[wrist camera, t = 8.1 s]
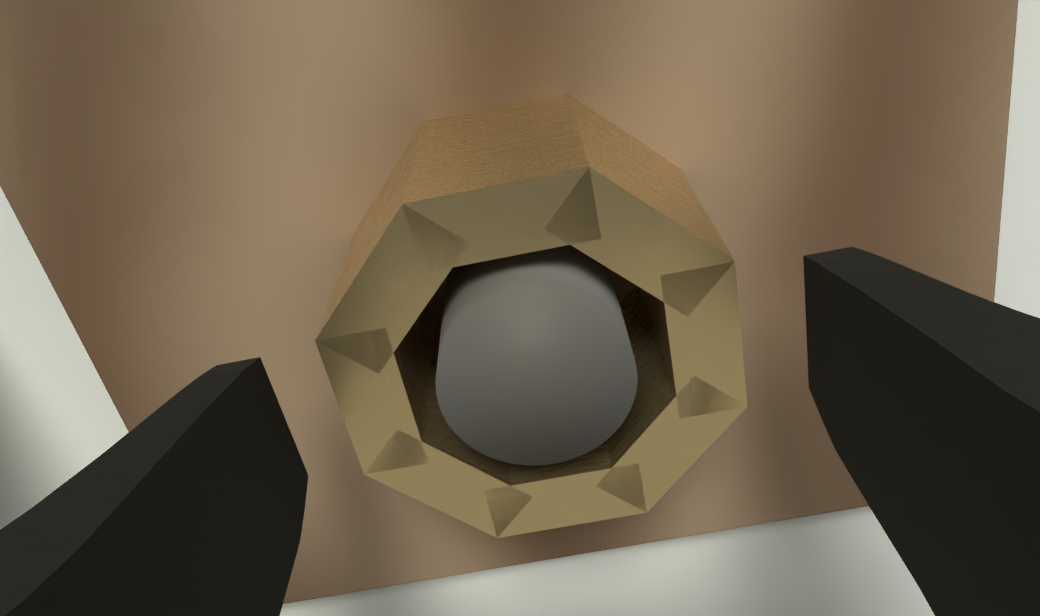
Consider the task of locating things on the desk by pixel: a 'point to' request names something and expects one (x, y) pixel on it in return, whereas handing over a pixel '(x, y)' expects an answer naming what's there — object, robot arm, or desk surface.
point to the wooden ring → (518, 230)
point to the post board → (329, 107)
